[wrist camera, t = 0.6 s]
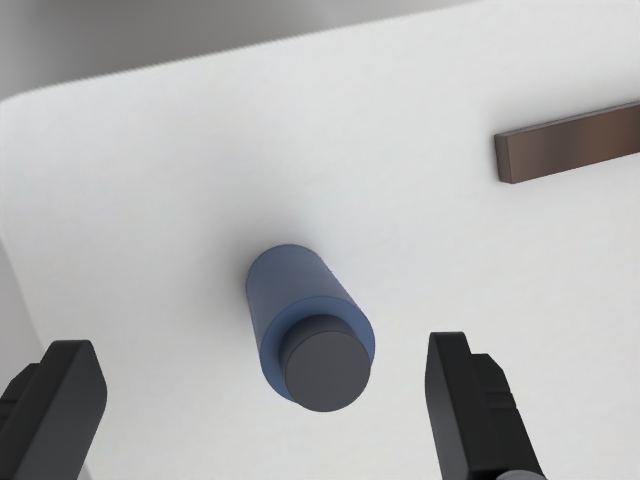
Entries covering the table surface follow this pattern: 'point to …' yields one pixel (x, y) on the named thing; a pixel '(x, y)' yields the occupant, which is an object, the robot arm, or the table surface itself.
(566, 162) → the walnut strip
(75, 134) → the table surface
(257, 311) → the water bottle
